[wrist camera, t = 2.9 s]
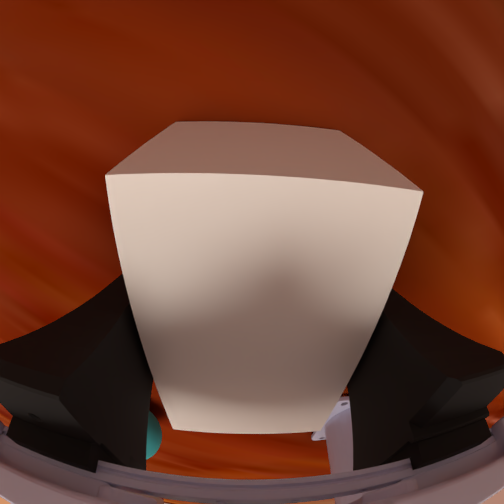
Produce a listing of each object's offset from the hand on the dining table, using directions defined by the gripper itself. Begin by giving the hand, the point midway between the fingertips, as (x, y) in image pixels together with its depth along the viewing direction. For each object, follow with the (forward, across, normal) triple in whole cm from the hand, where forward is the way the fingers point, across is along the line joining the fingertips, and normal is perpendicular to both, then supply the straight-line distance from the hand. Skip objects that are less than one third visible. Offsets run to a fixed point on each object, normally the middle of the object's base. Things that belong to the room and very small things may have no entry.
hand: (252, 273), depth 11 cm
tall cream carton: (+2, 0, 0) cm, 2 cm away
